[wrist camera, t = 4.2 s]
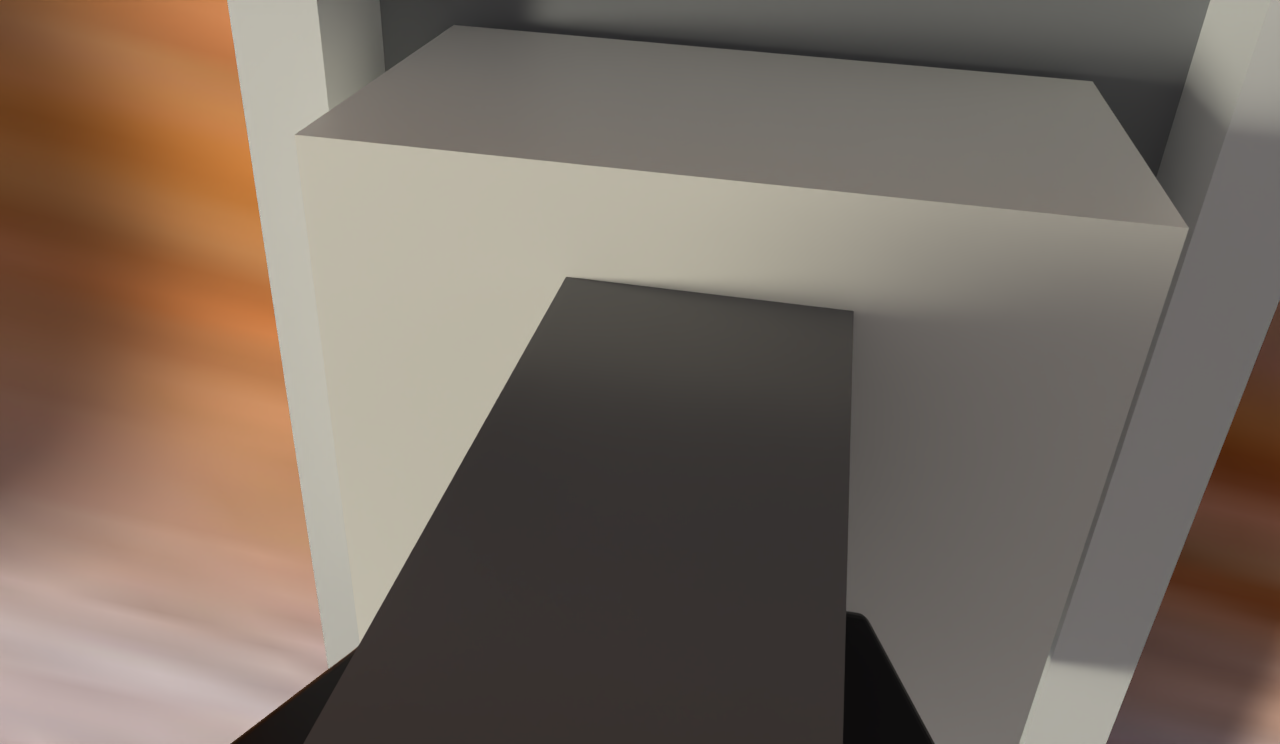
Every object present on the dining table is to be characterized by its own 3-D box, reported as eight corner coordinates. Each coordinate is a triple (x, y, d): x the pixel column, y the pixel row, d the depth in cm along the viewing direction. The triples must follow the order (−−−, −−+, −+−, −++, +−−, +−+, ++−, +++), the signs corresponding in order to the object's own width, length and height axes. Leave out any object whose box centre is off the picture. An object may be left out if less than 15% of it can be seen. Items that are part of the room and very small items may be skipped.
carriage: (1092, 80, 11) (1564, 796, 4) (961, 583, 15) (1061, 1471, 7) (453, 24, 12) (-238, 500, 5) (476, 510, 16) (111, 1229, 8)
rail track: (1536, -579, 9) (1842, -724, 6) (1016, 866, 19) (1043, 1062, 17) (231, -589, 11) (-1, -709, 8) (388, 751, 21) (312, 911, 18)
